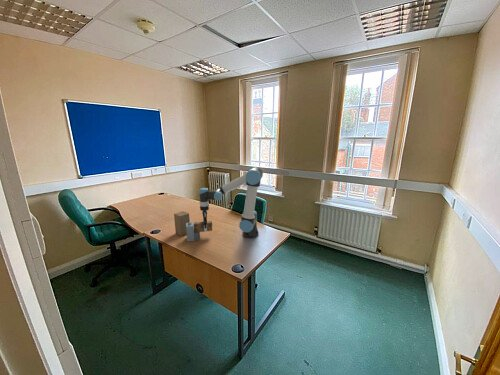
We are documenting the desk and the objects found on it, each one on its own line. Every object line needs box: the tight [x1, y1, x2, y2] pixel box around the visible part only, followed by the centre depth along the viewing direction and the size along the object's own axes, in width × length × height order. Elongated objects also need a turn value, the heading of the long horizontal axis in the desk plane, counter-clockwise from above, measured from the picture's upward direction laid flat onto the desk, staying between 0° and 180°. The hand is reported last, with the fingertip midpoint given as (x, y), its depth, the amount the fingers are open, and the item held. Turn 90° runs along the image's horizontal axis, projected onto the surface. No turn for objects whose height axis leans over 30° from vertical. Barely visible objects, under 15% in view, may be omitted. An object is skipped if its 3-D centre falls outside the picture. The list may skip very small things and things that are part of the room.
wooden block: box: [173, 210, 191, 237], centre depth 195 cm, size 10×10×20 cm
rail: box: [193, 220, 213, 233], centre depth 187 cm, size 16×4×8 cm, turn 106°
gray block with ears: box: [186, 221, 201, 242], centre depth 185 cm, size 11×8×16 cm
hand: (205, 229), depth 188 cm, fingers closed on rail, 4 cm apart
